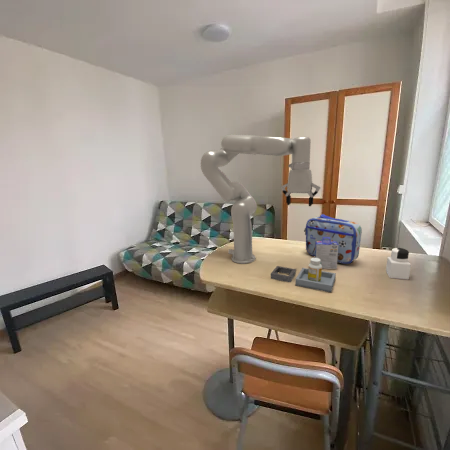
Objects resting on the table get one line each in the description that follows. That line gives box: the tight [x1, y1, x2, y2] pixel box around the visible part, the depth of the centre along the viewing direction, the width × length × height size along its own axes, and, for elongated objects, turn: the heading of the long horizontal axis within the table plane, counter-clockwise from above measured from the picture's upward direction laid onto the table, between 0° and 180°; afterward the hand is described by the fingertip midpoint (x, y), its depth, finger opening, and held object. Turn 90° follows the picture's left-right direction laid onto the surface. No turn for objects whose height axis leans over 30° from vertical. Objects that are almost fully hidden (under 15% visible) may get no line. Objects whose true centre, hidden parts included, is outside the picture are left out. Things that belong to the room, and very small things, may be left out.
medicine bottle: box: [385, 247, 412, 280], centre depth 112 cm, size 7×7×12 cm
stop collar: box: [269, 265, 297, 283], centre depth 117 cm, size 9×9×2 cm
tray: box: [295, 267, 337, 293], centre depth 110 cm, size 14×12×3 cm
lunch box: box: [303, 213, 363, 265], centre depth 132 cm, size 28×10×22 cm, turn 42°
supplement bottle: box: [307, 257, 323, 282], centre depth 109 cm, size 5×5×10 cm
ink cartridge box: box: [314, 237, 338, 270], centre depth 123 cm, size 10×6×14 cm, turn 78°
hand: (299, 205), depth 119 cm, fingers open, 9 cm apart
